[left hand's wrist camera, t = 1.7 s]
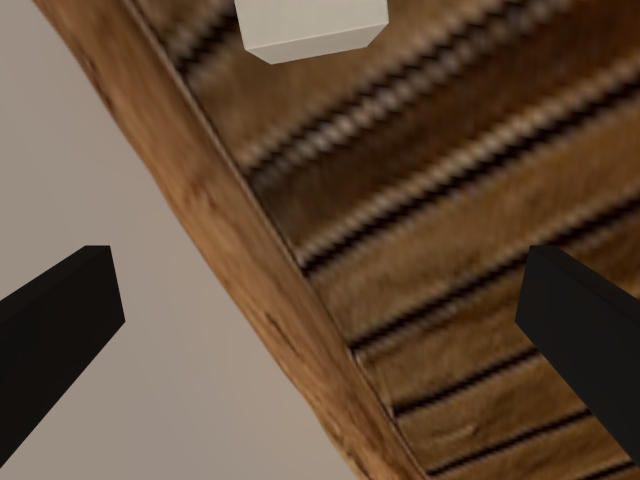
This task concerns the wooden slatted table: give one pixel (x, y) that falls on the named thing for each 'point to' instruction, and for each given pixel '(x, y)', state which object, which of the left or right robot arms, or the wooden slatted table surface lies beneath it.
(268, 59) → the block
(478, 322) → the wooden slatted table surface
